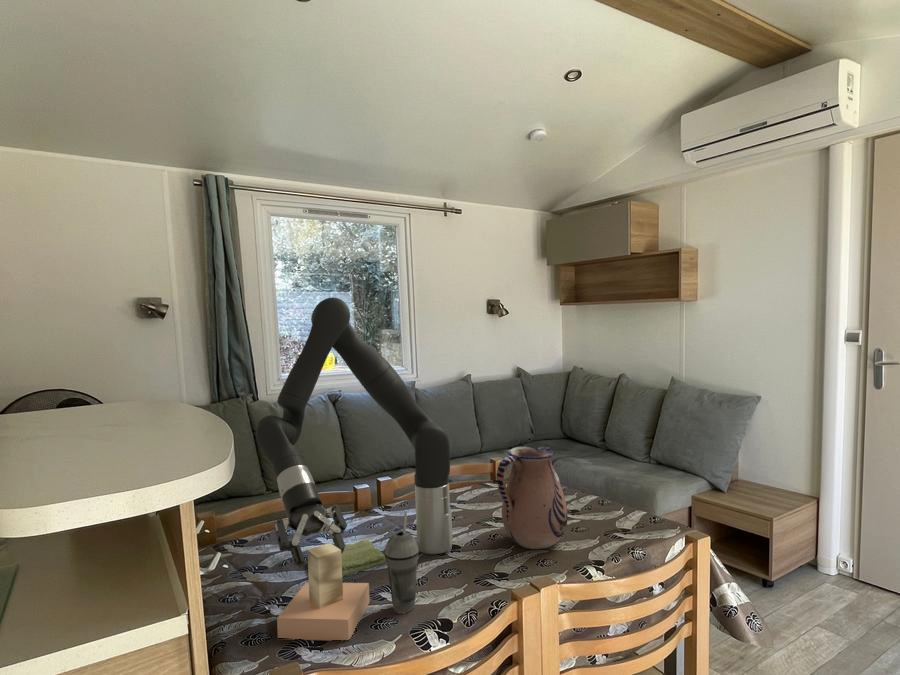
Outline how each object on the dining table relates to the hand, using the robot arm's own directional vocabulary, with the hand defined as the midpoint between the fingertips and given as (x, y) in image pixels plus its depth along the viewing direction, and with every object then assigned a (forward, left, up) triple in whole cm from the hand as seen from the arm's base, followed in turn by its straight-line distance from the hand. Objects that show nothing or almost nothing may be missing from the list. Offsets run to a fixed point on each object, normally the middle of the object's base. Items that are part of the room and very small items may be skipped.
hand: (322, 558), depth 102 cm
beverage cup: (-16, -4, -12) cm, 20 cm away
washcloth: (+3, -24, -13) cm, 27 cm away
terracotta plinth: (-1, +1, -12) cm, 12 cm away
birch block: (-1, +1, -8) cm, 8 cm away
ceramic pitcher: (-44, -36, -12) cm, 58 cm away
